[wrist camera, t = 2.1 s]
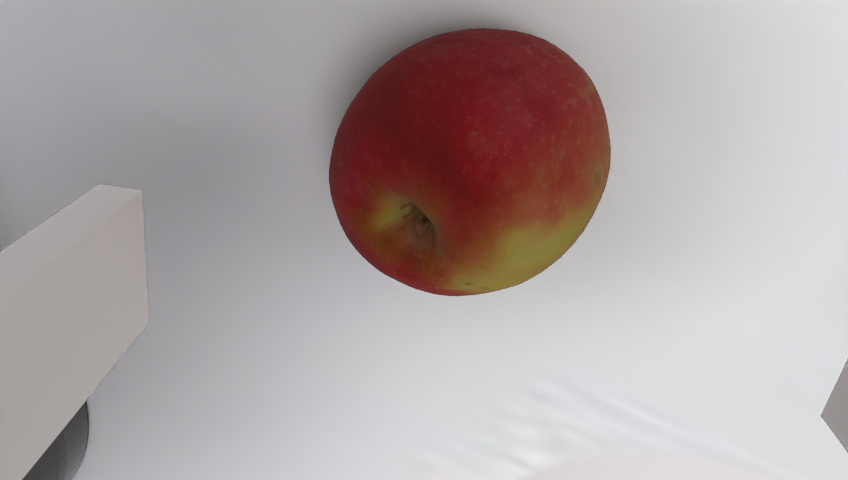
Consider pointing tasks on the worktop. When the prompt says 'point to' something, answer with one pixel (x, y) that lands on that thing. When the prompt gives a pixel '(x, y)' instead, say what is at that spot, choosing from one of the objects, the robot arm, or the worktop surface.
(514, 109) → the apple
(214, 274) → the worktop surface
